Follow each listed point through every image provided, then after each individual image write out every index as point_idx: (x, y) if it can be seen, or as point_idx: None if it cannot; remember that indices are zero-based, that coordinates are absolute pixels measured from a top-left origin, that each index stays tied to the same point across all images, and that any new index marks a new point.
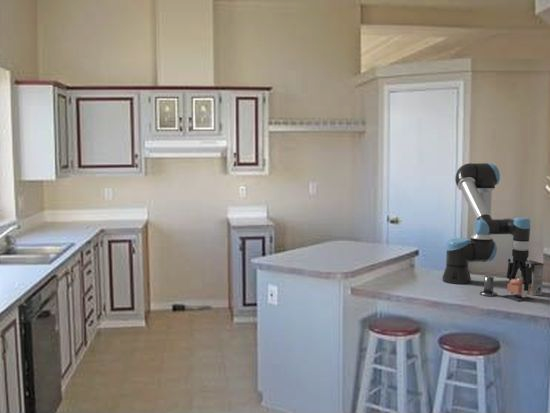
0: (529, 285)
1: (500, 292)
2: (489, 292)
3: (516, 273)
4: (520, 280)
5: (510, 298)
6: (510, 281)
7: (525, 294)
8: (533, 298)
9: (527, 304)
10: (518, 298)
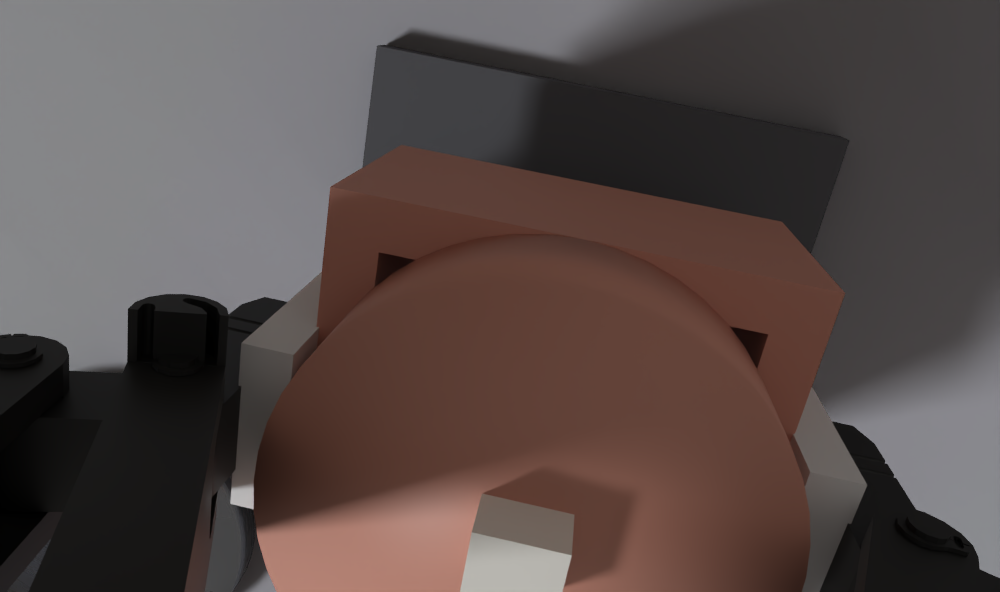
0: (838, 308)
1: (62, 179)
2: None
3: (193, 542)
4: (580, 539)
5: None
6: (248, 490)
7: None
8: (846, 145)
9: None
10: None
